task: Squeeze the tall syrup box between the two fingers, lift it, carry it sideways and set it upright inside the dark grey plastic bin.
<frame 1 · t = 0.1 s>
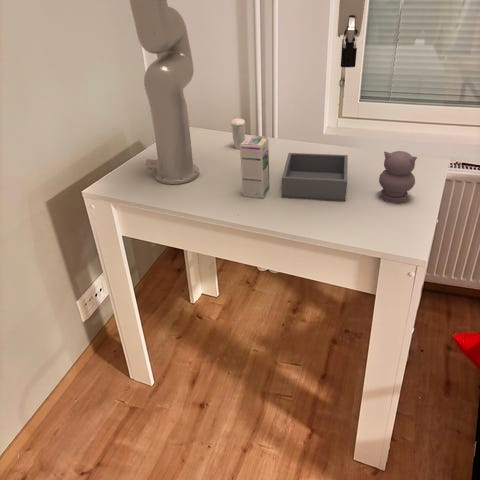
hand: (347, 61, 108), 31 cm above the table, tool pointing down, fingers open, 9 cm apart
syrup box: (255, 193, 123), on the table
milkshake: (240, 147, 149), on the table
bin: (315, 185, 125), on the table
cat figurine: (394, 197, 118), on the table
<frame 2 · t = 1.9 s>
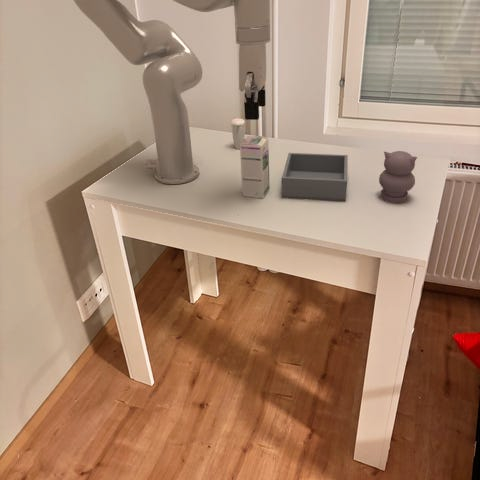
hand: (255, 112, 111), 21 cm above the table, tool pointing down, fingers open, 9 cm apart
nothing on the table moved.
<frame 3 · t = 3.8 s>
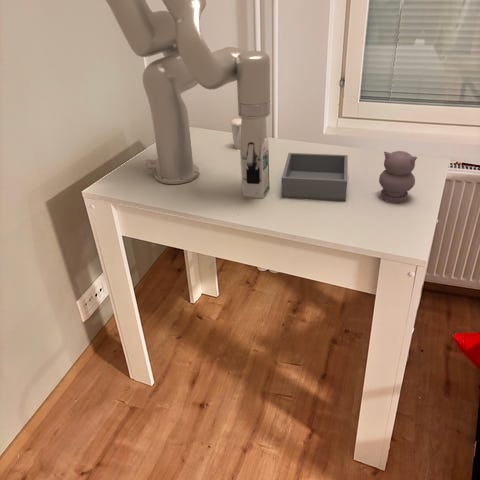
hand: (255, 176, 120), 5 cm above the table, tool pointing down, fingers closed on syrup box, 6 cm apart
syrup box: (255, 193, 123), on the table, touching gripper
everything else where it was.
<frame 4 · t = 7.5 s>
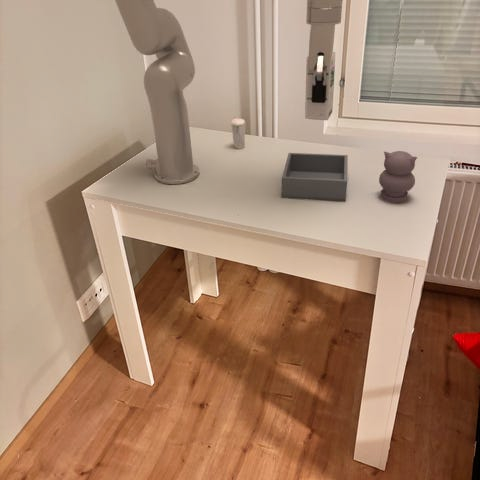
hand: (319, 97, 112), 23 cm above the table, tool pointing down, fingers closed on syrup box, 6 cm apart
syrup box: (318, 116, 115), point 19 cm above the table, touching gripper
everything else where it was.
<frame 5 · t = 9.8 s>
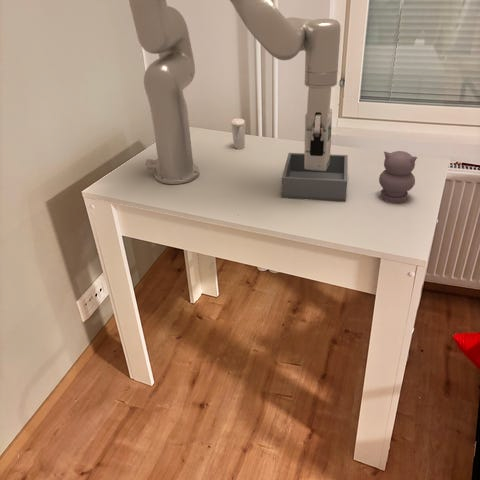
hand: (317, 149, 119), 10 cm above the table, tool pointing down, fingers closed on syrup box, 6 cm apart
syrup box: (316, 166, 122), point 5 cm above the table, touching gripper
everything else where it was.
when the fingers open (7 cm above the table, at t = 11.5 s): syrup box drops 1 cm, resting on bin.
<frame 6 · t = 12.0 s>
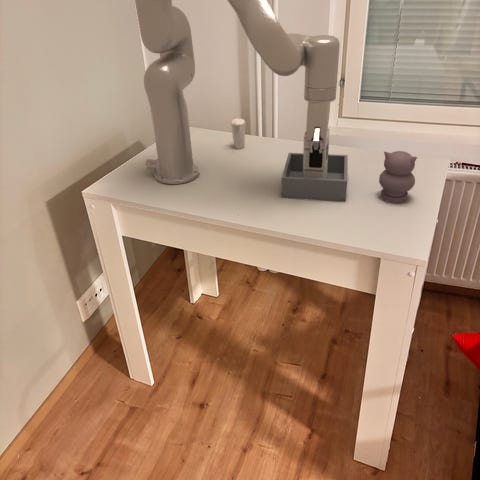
hand: (316, 159, 121), 7 cm above the table, tool pointing down, fingers open, 9 cm apart
syrup box: (314, 184, 125), resting on bin
everything else where it was.
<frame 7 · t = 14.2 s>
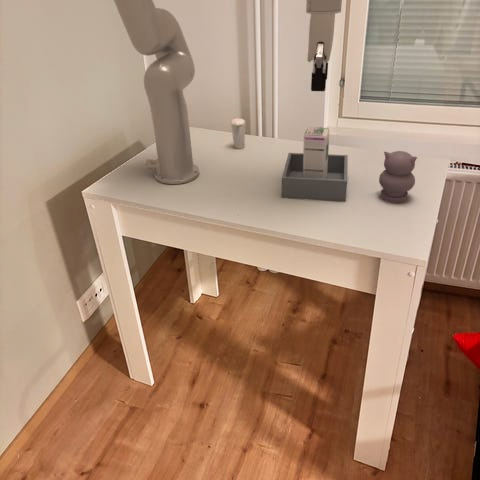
hand: (319, 85, 111), 26 cm above the table, tool pointing down, fingers open, 9 cm apart
nothing on the table moved.
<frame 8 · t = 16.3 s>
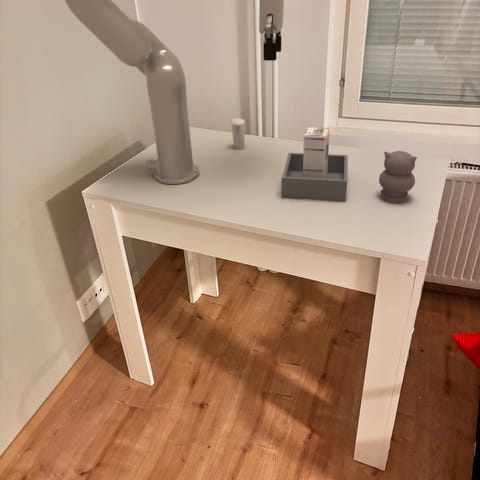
hand: (272, 55, 120), 30 cm above the table, tool pointing down, fingers open, 9 cm apart
nothing on the table moved.
at the end: syrup box inside the target area on the bin (0.2 cm from its centre), point 0.4 cm above the bin's base; syrup box tilted 0°; the gripper is holding nothing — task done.
